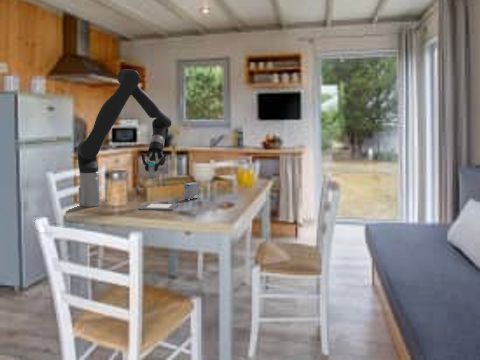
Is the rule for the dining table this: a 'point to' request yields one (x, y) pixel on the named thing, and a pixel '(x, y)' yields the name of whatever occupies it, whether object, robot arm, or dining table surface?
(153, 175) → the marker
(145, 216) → the dining table surface
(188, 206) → the dining table surface
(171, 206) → the writing mat
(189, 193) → the medicine box
